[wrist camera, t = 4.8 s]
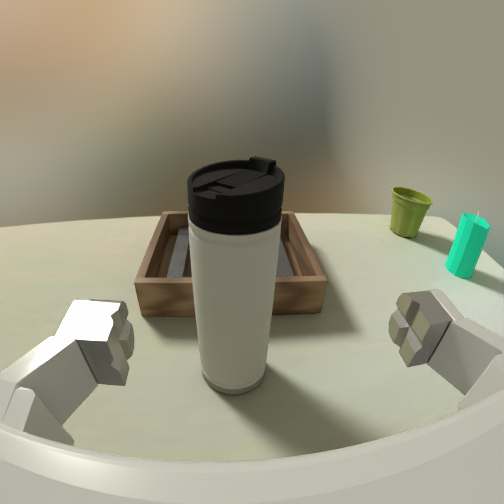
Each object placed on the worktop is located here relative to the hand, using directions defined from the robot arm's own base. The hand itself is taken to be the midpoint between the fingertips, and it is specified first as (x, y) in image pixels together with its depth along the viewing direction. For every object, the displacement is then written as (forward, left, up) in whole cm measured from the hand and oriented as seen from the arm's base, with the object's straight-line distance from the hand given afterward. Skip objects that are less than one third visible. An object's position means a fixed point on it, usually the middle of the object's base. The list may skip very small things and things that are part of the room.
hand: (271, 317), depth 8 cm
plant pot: (+37, +44, -19) cm, 60 cm away
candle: (+42, +29, -19) cm, 54 cm away
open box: (0, +31, -19) cm, 36 cm away
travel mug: (0, +13, -19) cm, 23 cm away
